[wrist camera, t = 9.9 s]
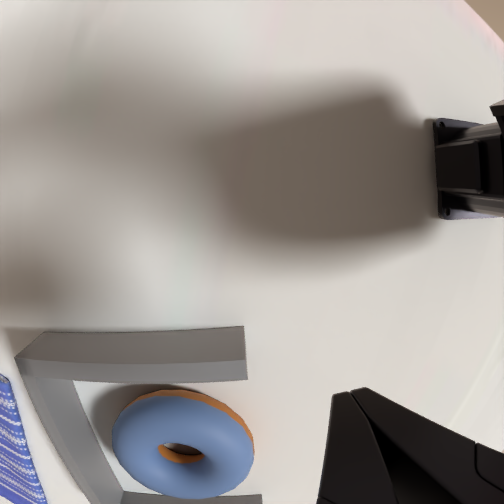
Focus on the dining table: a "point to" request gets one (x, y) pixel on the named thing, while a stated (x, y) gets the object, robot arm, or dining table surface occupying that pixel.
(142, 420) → the doughnut
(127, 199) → the dining table surface
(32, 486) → the dish towel
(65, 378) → the box
